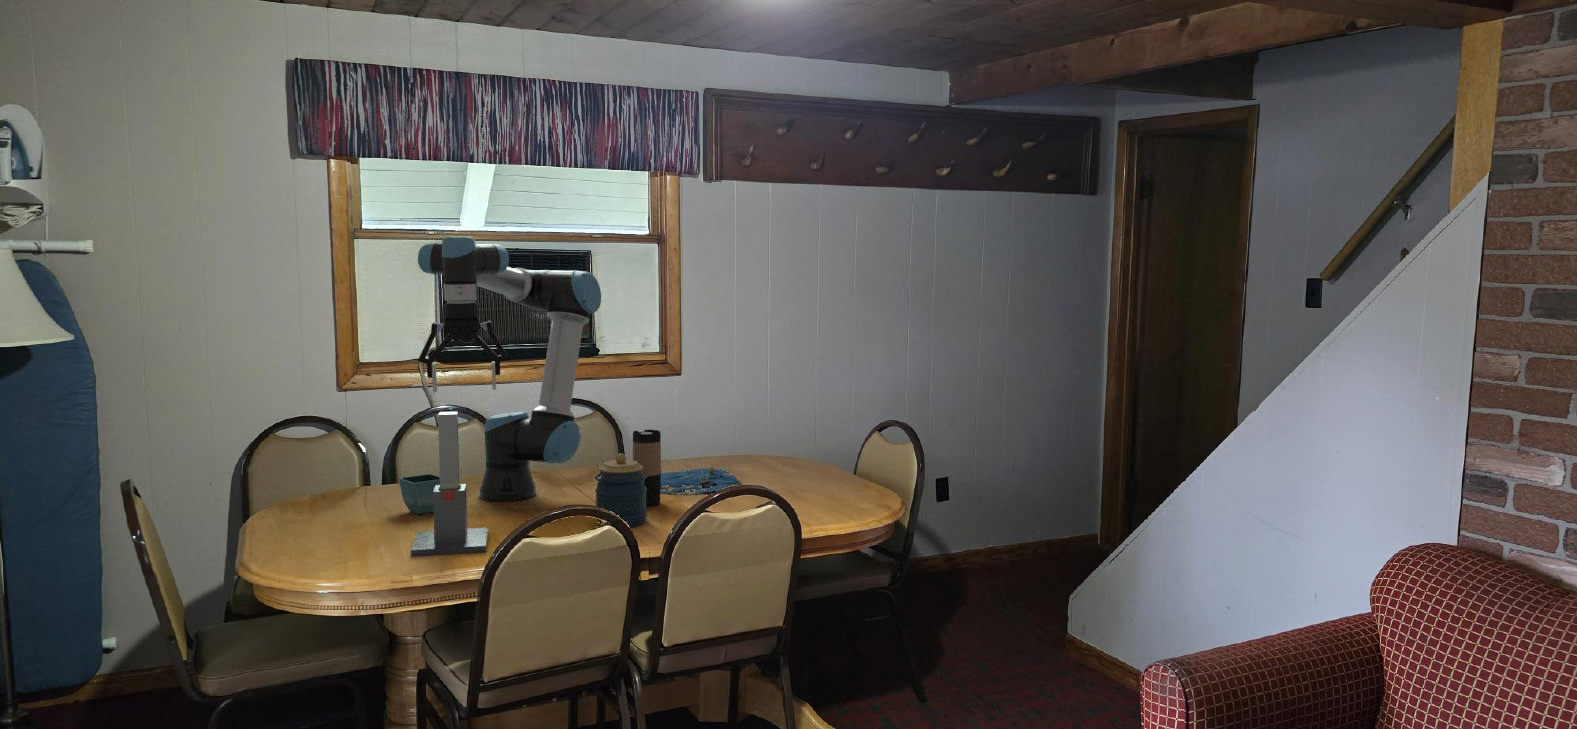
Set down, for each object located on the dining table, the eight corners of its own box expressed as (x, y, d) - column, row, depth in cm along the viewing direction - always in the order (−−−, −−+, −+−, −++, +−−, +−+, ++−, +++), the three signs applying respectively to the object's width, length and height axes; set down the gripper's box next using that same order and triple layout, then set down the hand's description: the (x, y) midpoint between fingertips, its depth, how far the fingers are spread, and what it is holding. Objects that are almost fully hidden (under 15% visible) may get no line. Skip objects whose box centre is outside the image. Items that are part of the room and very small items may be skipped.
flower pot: (431, 505, 273) (430, 473, 272) (446, 512, 266) (446, 478, 265) (399, 511, 267) (398, 477, 266) (414, 517, 260) (413, 483, 259)
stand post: (440, 513, 233) (438, 414, 231) (442, 509, 237) (439, 412, 235) (459, 512, 234) (456, 414, 232) (460, 508, 238) (457, 411, 236)
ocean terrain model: (706, 506, 282) (706, 488, 281) (621, 491, 297) (621, 474, 296) (762, 482, 307) (762, 465, 307) (681, 469, 322) (681, 453, 322)
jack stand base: (411, 556, 227) (409, 497, 226) (418, 537, 242) (416, 481, 241) (485, 552, 231) (484, 494, 230) (488, 533, 246) (487, 478, 245)
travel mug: (655, 508, 272) (655, 434, 270) (628, 506, 274) (628, 433, 272) (664, 501, 280) (664, 430, 278) (638, 500, 281) (638, 428, 279)
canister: (601, 515, 265) (600, 448, 263) (650, 516, 265) (650, 449, 263) (590, 528, 252) (589, 458, 250) (642, 529, 252) (641, 459, 250)
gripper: (403, 304, 235) (408, 394, 238) (515, 301, 242) (518, 390, 244) (406, 301, 242) (411, 389, 245) (515, 299, 249) (518, 385, 252)
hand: (464, 390), depth 245 cm, fingers open, 13 cm apart
